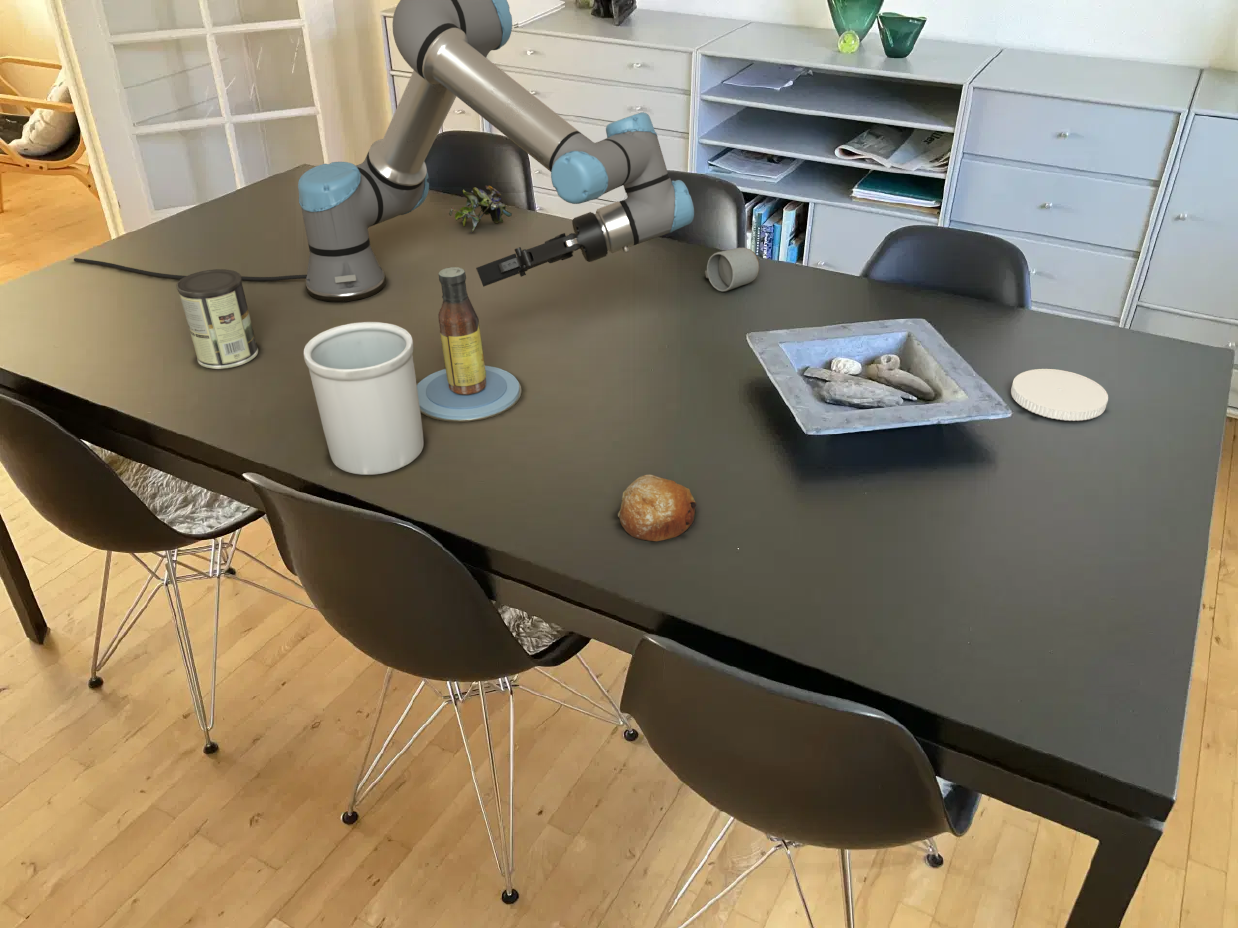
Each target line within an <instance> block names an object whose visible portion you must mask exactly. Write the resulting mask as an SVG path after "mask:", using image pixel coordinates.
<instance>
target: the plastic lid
mask: <svg viewBox="0 0 1238 928" xmlns="http://www.w3.org/2000/svg"><path fill="white" fill-rule="evenodd" d="M1010 394H1011V397H1012V398H1013V400H1014V401H1015V402H1016V403H1017V404H1018V405H1019V406H1021V408H1024V409H1025V410H1027V411H1029V412H1031V413H1034V414H1036V415H1039V416H1042V417H1044V418H1045V417H1046V418H1048V419H1055V420H1060V421H1069V422H1071V421H1073V422H1076V421H1077V422H1079V421H1087V420H1091V419H1094V418H1095V419H1096V418H1097V417H1099V416H1101V415H1102V414H1103V413H1104V412H1105V410H1106V408H1107V405H1108V402H1109V394H1108V392H1107V391H1106V389H1105V388H1104V387H1103V386H1102V385H1101V383H1100V384H1099V382H1096V381H1095V380H1093V379H1092V378H1089V377H1086V376H1084V375H1082V374H1078V373H1075V372H1071V371H1067V370H1062V369H1057V368H1056V369H1054V368H1051V369H1050V368H1036V369H1034V368H1033V369H1029V370H1026V371H1023V372H1021V373H1018V374H1017V375H1016V376H1015V377H1014V378H1013V380H1012V383H1011V389H1010Z"/></svg>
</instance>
